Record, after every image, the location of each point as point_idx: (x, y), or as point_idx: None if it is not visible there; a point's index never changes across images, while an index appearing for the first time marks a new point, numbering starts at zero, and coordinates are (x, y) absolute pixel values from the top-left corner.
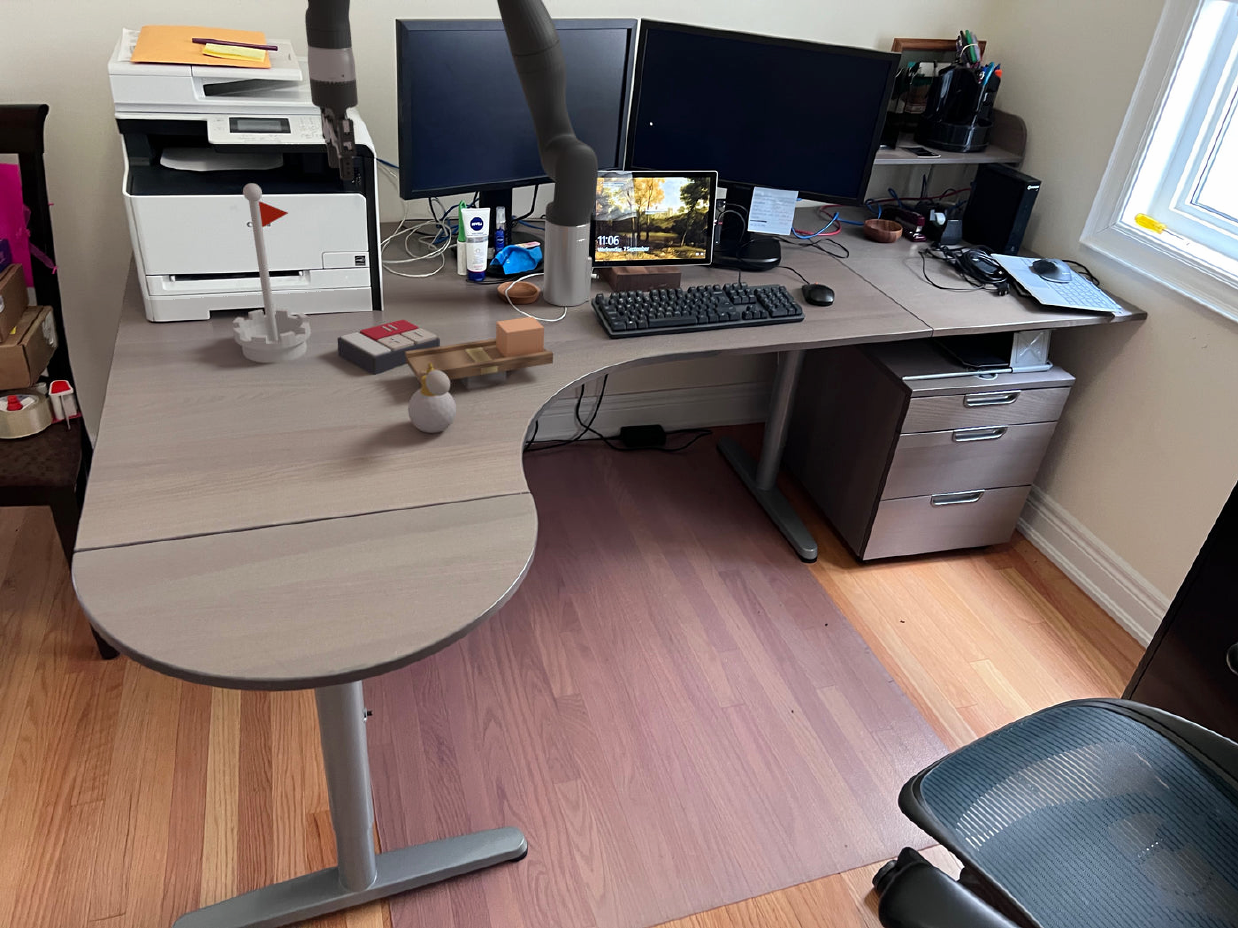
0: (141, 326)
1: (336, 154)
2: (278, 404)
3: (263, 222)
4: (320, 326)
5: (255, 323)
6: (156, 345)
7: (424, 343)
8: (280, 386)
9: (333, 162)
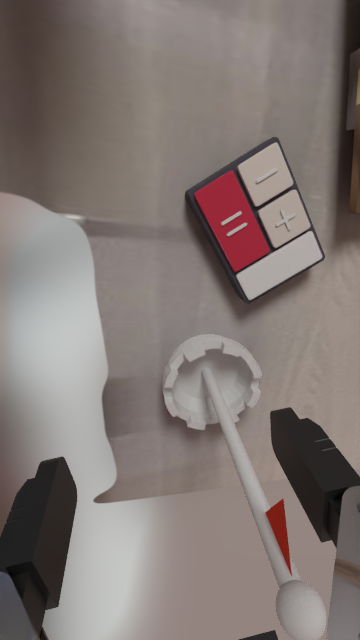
0: (116, 494)
1: (52, 529)
2: (341, 358)
3: (269, 520)
4: (139, 317)
5: (176, 402)
6: (169, 474)
7: (290, 170)
8: (302, 358)
9: (68, 503)
